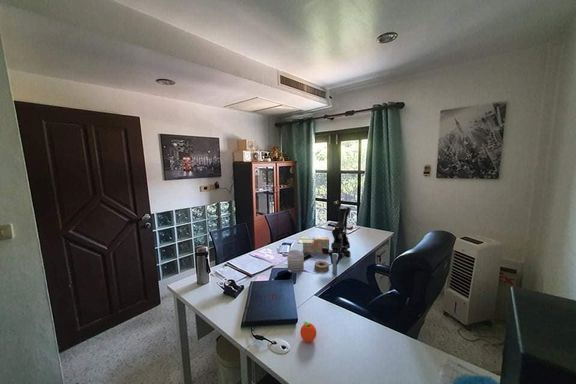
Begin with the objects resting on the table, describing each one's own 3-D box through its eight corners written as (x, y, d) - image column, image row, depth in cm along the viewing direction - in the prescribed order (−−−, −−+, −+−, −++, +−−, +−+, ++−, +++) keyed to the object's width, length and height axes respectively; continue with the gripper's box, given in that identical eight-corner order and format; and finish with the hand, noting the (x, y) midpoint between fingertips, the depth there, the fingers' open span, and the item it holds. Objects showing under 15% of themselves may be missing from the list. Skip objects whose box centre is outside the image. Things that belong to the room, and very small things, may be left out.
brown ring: (322, 263, 168) (322, 259, 167) (331, 269, 160) (331, 264, 159) (312, 267, 163) (312, 263, 162) (320, 272, 155) (320, 268, 154)
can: (300, 264, 168) (300, 249, 166) (306, 271, 157) (306, 255, 155) (285, 267, 164) (285, 251, 163) (290, 274, 154) (290, 257, 152)
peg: (334, 271, 155) (334, 253, 153) (337, 273, 152) (338, 255, 151) (331, 272, 153) (331, 254, 152) (334, 274, 151) (334, 256, 149)
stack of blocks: (302, 253, 187) (302, 239, 186) (303, 250, 194) (302, 236, 192) (329, 253, 185) (329, 239, 184) (328, 250, 192) (328, 236, 190)
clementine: (296, 335, 101) (295, 321, 99) (309, 329, 104) (308, 315, 103) (306, 348, 94) (305, 333, 93) (319, 341, 97) (319, 326, 96)
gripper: (322, 235, 157) (318, 257, 148) (350, 239, 149) (347, 262, 141) (325, 242, 165) (321, 263, 157) (351, 246, 158) (349, 268, 149)
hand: (334, 264), depth 151 cm, fingers closed on peg, 3 cm apart
